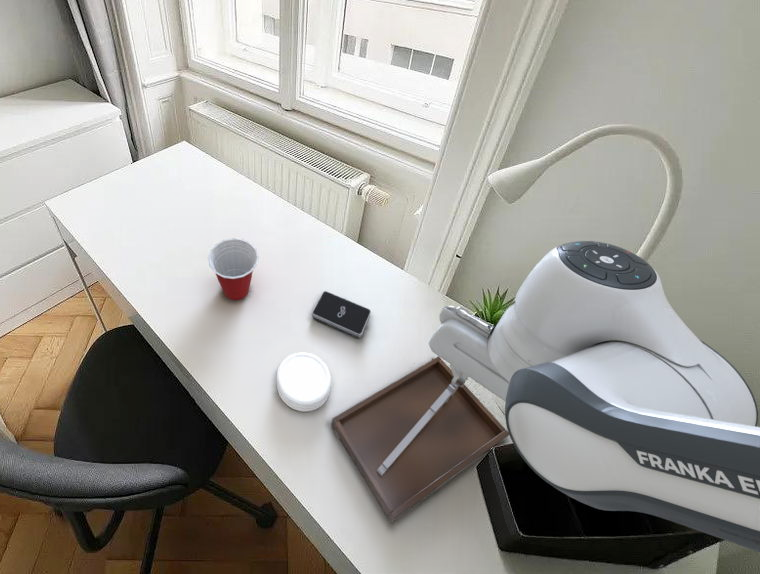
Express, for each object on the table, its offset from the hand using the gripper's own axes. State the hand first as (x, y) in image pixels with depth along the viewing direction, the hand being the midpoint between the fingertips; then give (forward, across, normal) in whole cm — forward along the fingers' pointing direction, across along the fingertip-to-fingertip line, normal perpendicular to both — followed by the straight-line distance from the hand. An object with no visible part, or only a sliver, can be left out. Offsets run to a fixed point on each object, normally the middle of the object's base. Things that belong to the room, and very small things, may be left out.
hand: (492, 405), depth 55 cm
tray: (+19, -6, -1) cm, 20 cm away
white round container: (+19, -25, -8) cm, 33 cm away
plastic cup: (+19, -51, -2) cm, 54 cm away
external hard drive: (+19, -29, +9) cm, 36 cm away
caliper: (+18, -6, -1) cm, 19 cm away
